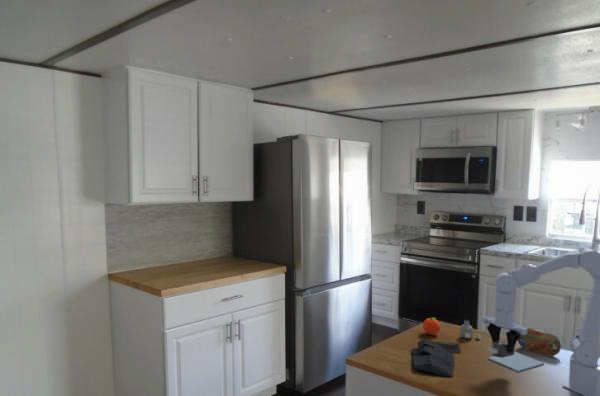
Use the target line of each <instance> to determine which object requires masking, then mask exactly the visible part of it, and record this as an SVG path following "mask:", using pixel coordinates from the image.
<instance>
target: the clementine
mask: <svg viewBox="0 0 600 396" xmlns="http://www.w3.org/2000/svg"><path fill="white" fill-rule="evenodd" d="M422 328H423V331H424V332H425V333H426V334H427V335H429V336H436V335H437V334H438V333H439V332H440V331H441V325H440V322H439V321H438V320H437V317H430V318H426V319H425V320H424V322H423V323H422Z"/></svg>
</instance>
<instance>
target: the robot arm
mask: <svg viewBox="0 0 600 396" xmlns="http://www.w3.org/2000/svg"><path fill="white" fill-rule="evenodd" d="M580 267H581V268H582V269H583V270H584V271H586V272H588V274H589V275H590V276H591V277H592V279H593V280H594V282H593V286H592V289H591V291H590V295H589V298H588V301H587V306H586V308H585V311H584V315H583V317H582V322H581V325H580V328H579V329H578V330H577V333H576V335H575V336H574V337H573V338H572V339H571V340H570V344H569V345H570V348H571V350H572V352H573V353H572V354H571V355H570V357H569V377H568V378H569V379H568V382H567V383H564V384H562V388H563V387H564V388H566V389H568V390H570V391H572V392H574V393H577V394H580V395H581V396H600V365H599V363H598V361H599V359H600V356H599V350H598V349H599V342H600V341H599V339H600V252H598V251H597V250H596V249H594V248H592V247H586V246H585V247H582V248H580V249H579V250H578V249H575V250H571V251H567V252H566V253H564V254H560V255H558V256H556V257H554V258H551V259H549V260H547V261H544V262H541V263H540V264H537V265H534V264H531V263H528V264H526V263H523V264H521V266H520V267H517V268H514V269H512V270H511V269H508V270H506V272H500V273H499V274H498V275H497V276H496V279H495V286H496V290H495V293H496V294H495V301H494V302H495V304H494V317H490V316H487V315H486V316H482V323H483V324H488V326H486V329H487V331H488V333H489V336H490V337H491V341H492V342H493V341H497V340H501V338H500V337H501V331H502V329H504V330H508V331H506V332H505V336H506V339H507V341H508V348H507V350H508V353H512V352H513V350H514V351H515V346H516V344H517V342H518V338H519V337H520V335H526V334H527V328H528V327H524V326H522V325H519V324H518V323H515V319H514V318H515V299H516V298H515V296H514V295H515V294H514V293H515V289H516V288H521V287H523V286H526V285H530V284H532V283H535V282H538V281H539V280H540V277H541V276H542V275H545V274H548V273H551V272H555V271H557V270H561V269H564V268H571V269H572V268H573V269H577V270H579V269H580Z"/></svg>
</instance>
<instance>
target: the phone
mask: <svg viewBox="0 0 600 396" xmlns="http://www.w3.org/2000/svg"><path fill="white" fill-rule="evenodd" d="M424 341H425V339H424V340H423V339H420V340H419V342H418V348H420V349H422V344H423V343H424ZM429 341H430V342H432V343H435V344H438V345H440V346H441V347H442V348H443V349H444V350H446V351H447V352H450V353H452V354H460V353H461V348H460V344H457V343H450V342H443V341H434V340H433V341H432V340H429Z"/></svg>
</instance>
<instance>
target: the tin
mask: <svg viewBox="0 0 600 396" xmlns="http://www.w3.org/2000/svg"><path fill="white" fill-rule="evenodd" d="M526 328H527V334H526V335H520V337H519V338H518V340H517V342H518V344H519V346H520V347H521V348H522V349H524V350H525V351H528V352H532V353H534V354H537V355H538V354H539V355H542V356H545V357H548V358H549V357H551V358H552V357H555V356H556V355H558V354H559V353H560V352H561V349H562V348H561V347H562V346H561V341H560V339H559V338H558V337H557V336H556V335H555V334H553V333H550V332H546V331H543V330H538V329H535V328H531V327H526Z"/></svg>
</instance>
